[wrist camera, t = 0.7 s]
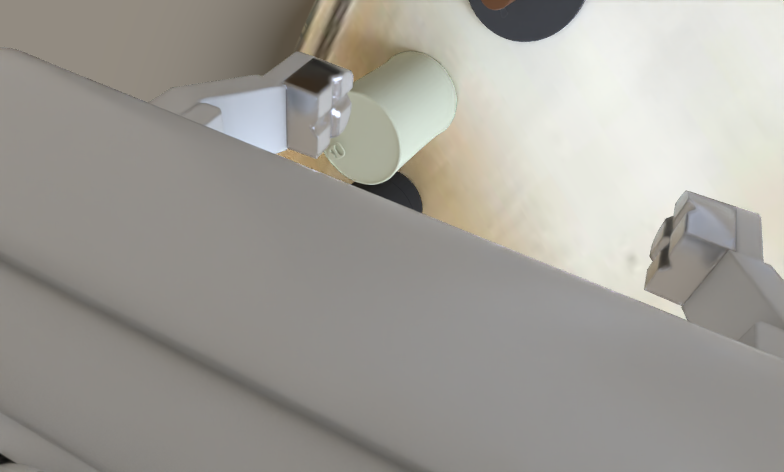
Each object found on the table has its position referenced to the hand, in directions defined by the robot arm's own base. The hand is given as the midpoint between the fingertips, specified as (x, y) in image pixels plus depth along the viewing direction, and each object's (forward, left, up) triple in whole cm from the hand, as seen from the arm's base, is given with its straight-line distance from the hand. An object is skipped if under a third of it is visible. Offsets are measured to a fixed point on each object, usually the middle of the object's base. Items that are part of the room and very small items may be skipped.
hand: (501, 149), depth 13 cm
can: (+22, -16, -38) cm, 47 cm away
